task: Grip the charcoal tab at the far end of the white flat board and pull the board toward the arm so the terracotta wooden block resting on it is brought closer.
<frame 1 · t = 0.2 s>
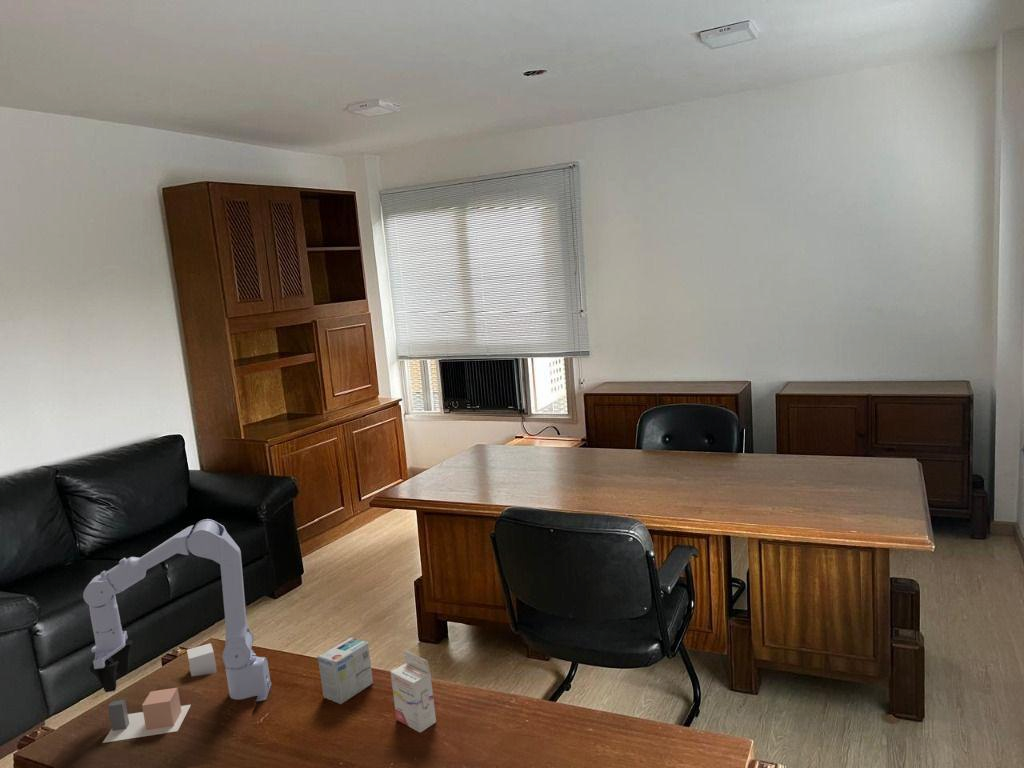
hand: (117, 682, 180), 10 cm above the table, tool pointing down, fingers open, 7 cm apart
ink cartridge box: (416, 722, 170), on the table
block: (164, 720, 178), point 1 cm above the table, touching white flat board
light bulb box: (348, 691, 186), on the table
white boxy piece: (203, 673, 202), on the table
white flat board: (146, 712, 177), point 4 cm above the table, slide at 0.0 cm, touching block
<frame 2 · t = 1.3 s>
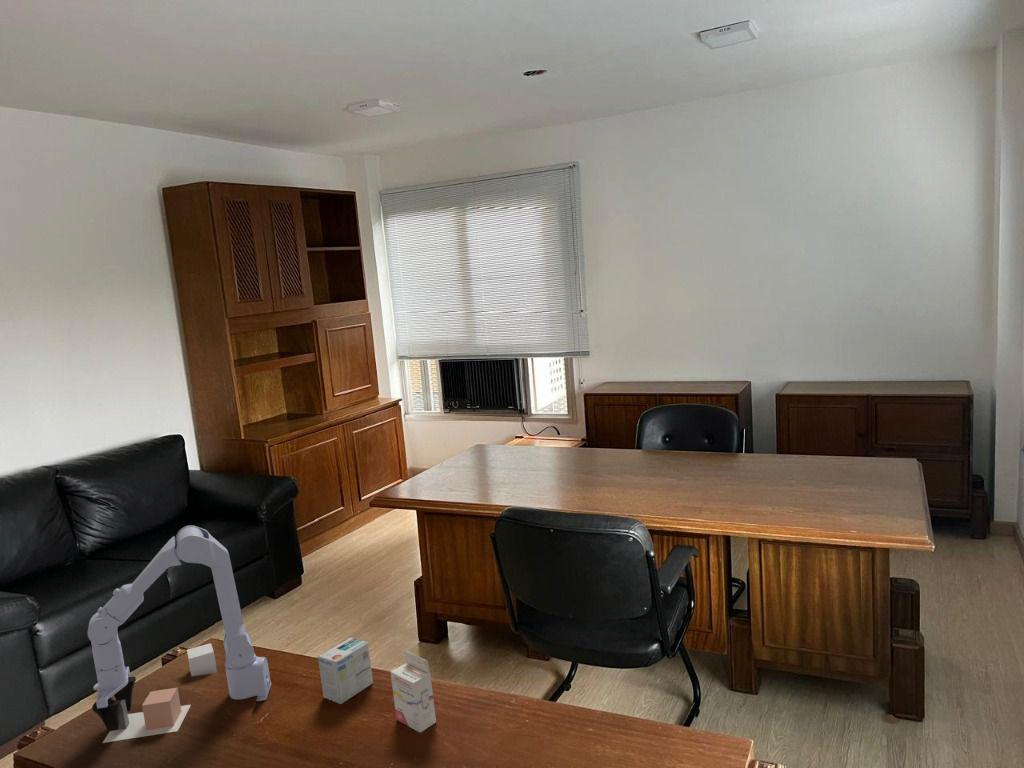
hand: (119, 720, 177), 3 cm above the table, tool pointing down, fingers open, 7 cm apart
nothing on the table moved.
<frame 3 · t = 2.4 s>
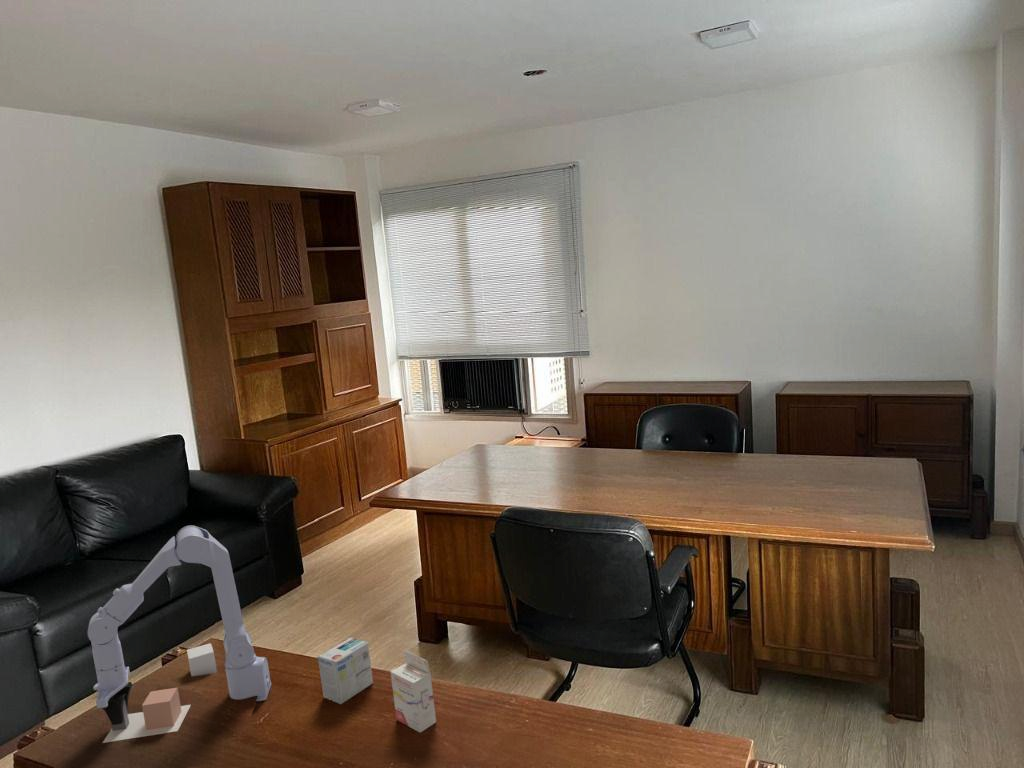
hand: (119, 720, 177), 3 cm above the table, tool pointing down, fingers closed on white flat board, 2 cm apart
white flat board: (146, 712, 177), point 4 cm above the table, slide at 0.0 cm, touching block, gripper
everything else where it was.
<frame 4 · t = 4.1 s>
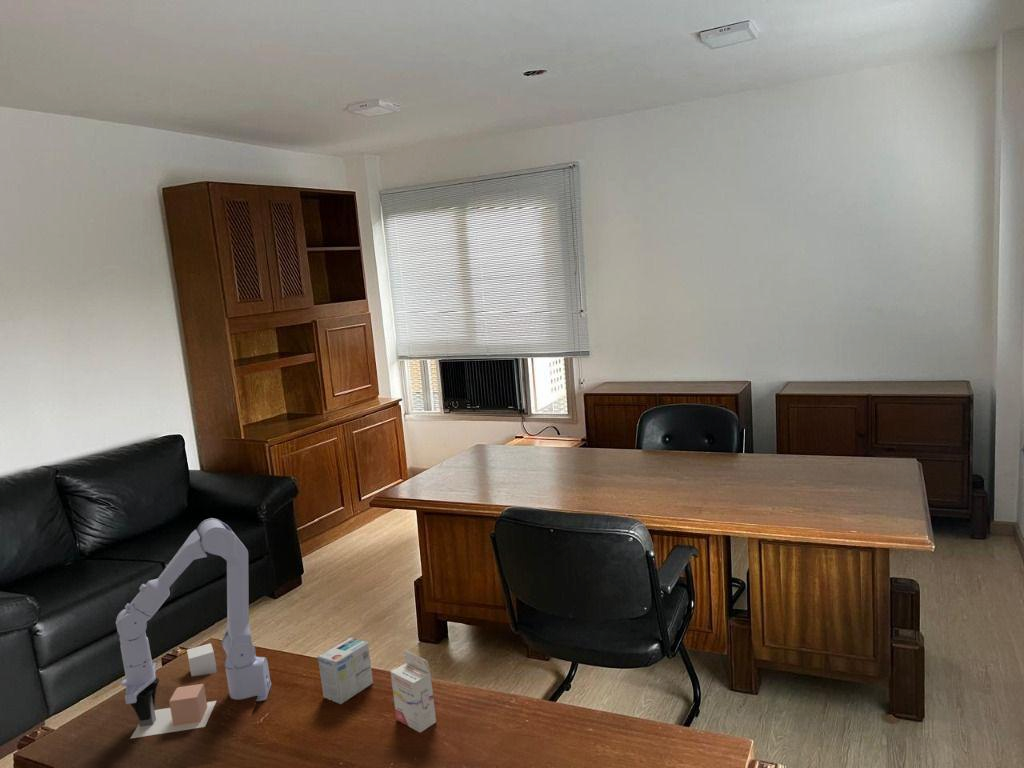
hand: (147, 716, 178), 3 cm above the table, tool pointing down, fingers closed on white flat board, 2 cm apart
block: (190, 716, 179), point 1 cm above the table, touching white flat board
white flat board: (173, 708, 178), point 4 cm above the table, slide at 5.9 cm, touching block, gripper
everything else where it was.
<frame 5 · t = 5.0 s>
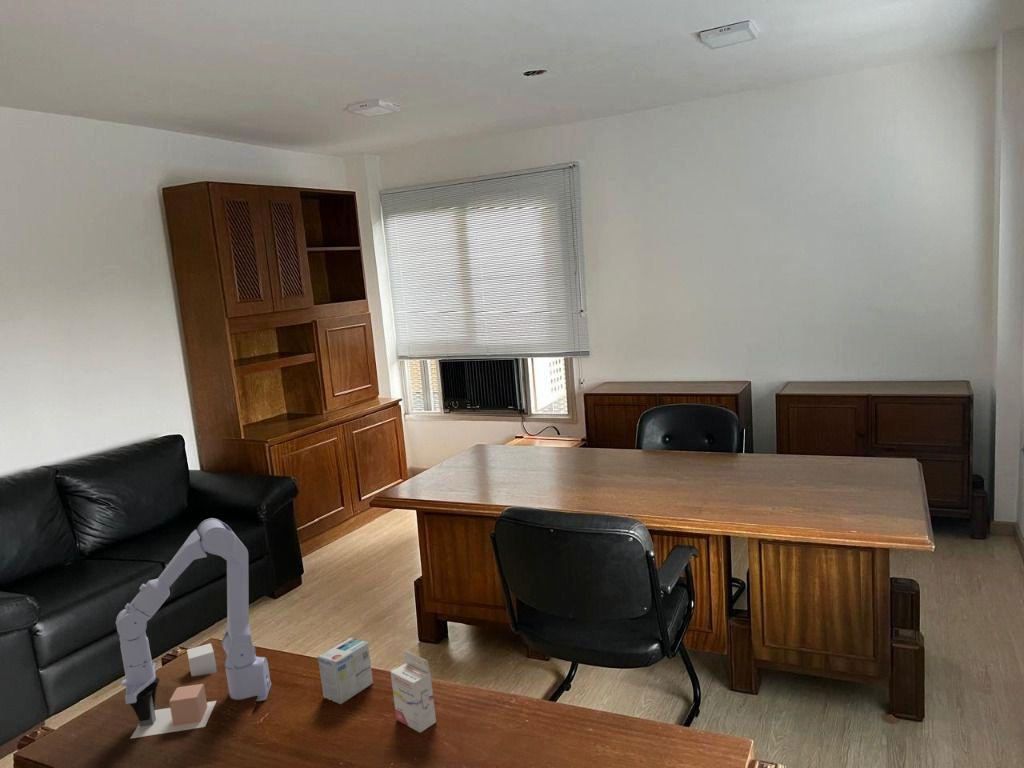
hand: (147, 716, 178), 3 cm above the table, tool pointing down, fingers closed
white flat board: (173, 708, 178), point 4 cm above the table, slide at 5.9 cm, touching block
everything else where it was.
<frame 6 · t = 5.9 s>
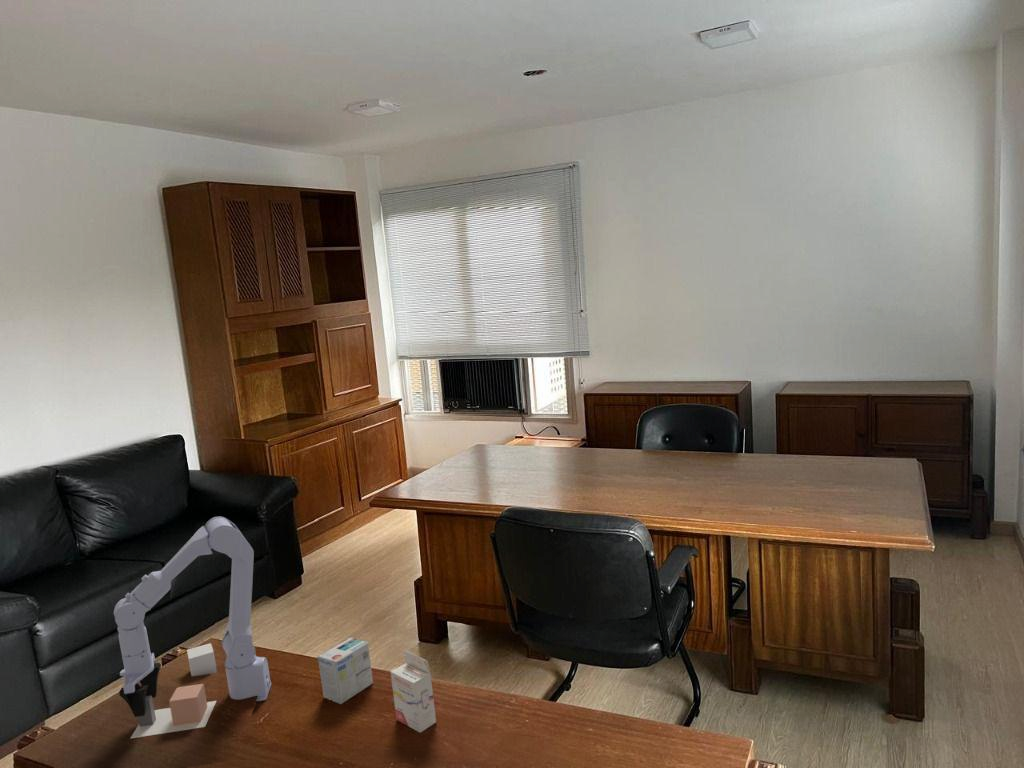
hand: (145, 706, 177), 5 cm above the table, tool pointing down, fingers open, 7 cm apart
nothing on the table moved.
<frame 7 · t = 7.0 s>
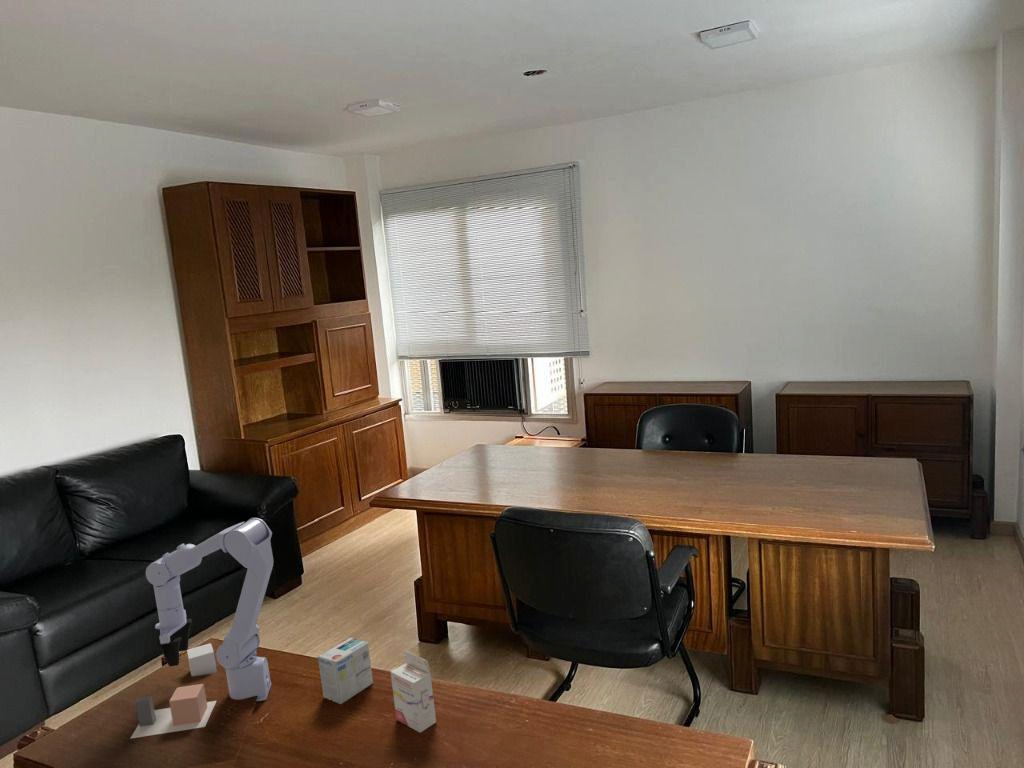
hand: (178, 657, 191), 9 cm above the table, tool pointing down, fingers open, 7 cm apart
nothing on the table moved.
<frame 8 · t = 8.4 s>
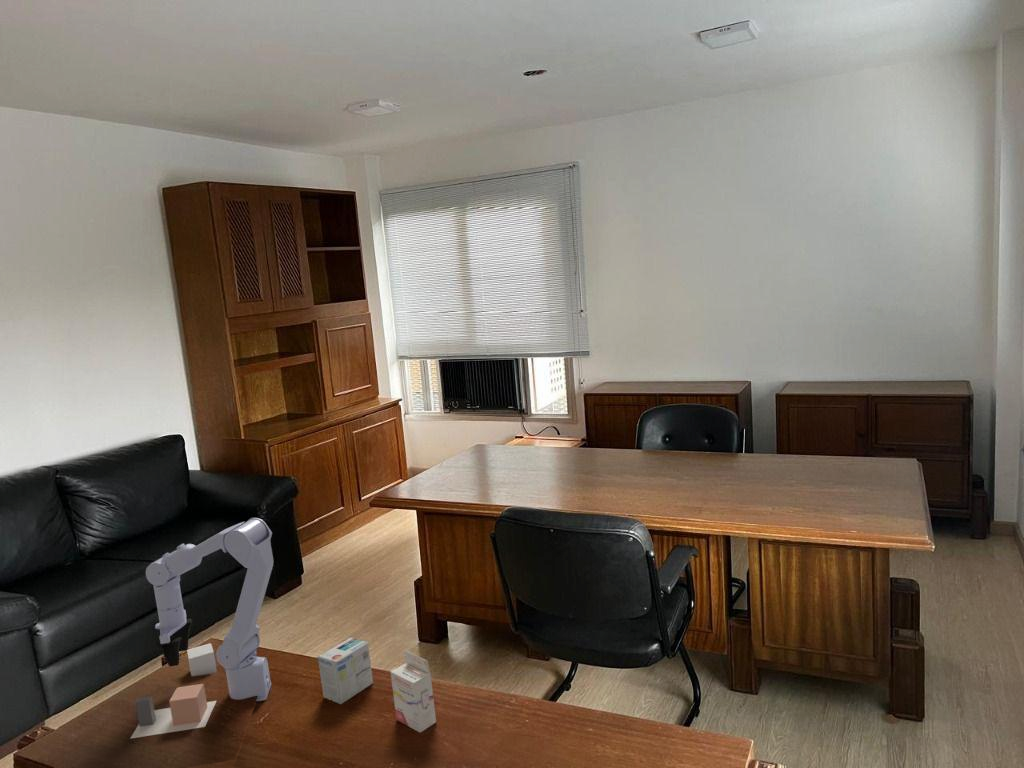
hand: (178, 657, 191), 9 cm above the table, tool pointing down, fingers open, 7 cm apart
nothing on the table moved.
at the end: white flat board slide at 5.9 cm; block inside the target area (0.3 cm from its centre), point 1.2 cm above the table; block tilted 0° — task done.
